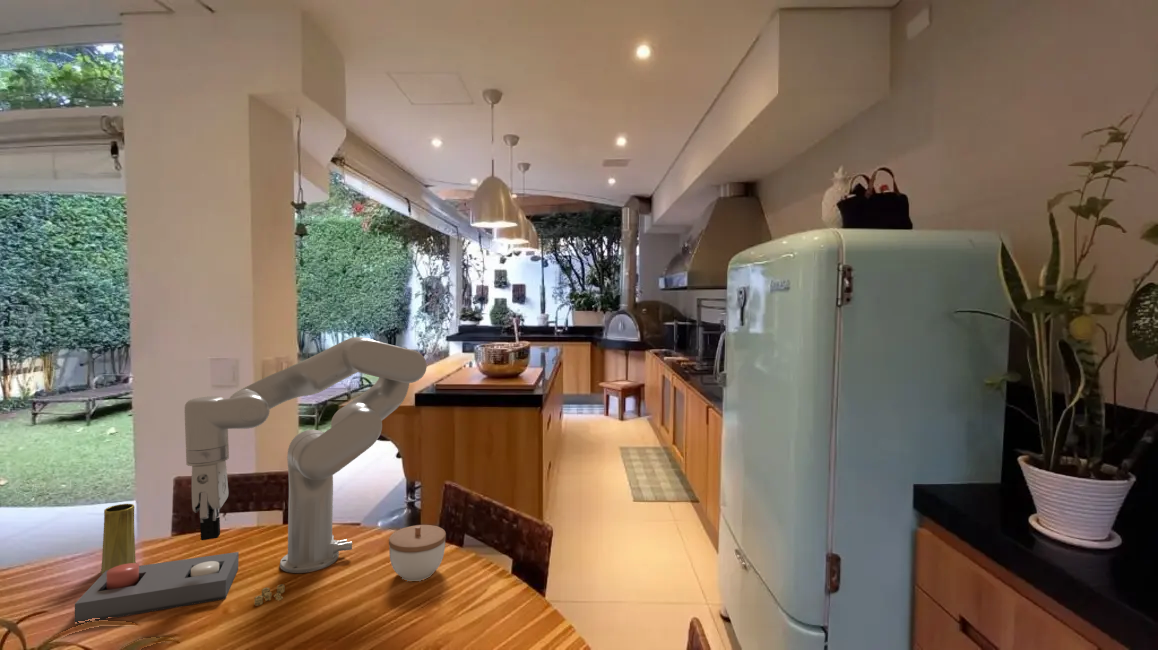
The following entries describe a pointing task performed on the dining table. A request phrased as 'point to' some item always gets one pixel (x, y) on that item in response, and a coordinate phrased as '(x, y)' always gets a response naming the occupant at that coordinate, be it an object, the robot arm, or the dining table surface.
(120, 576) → the red button
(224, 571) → the button panel
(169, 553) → the dining table surface
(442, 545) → the lidded bowl
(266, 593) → the dice set
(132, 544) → the vase
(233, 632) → the dining table surface
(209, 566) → the ivory button
